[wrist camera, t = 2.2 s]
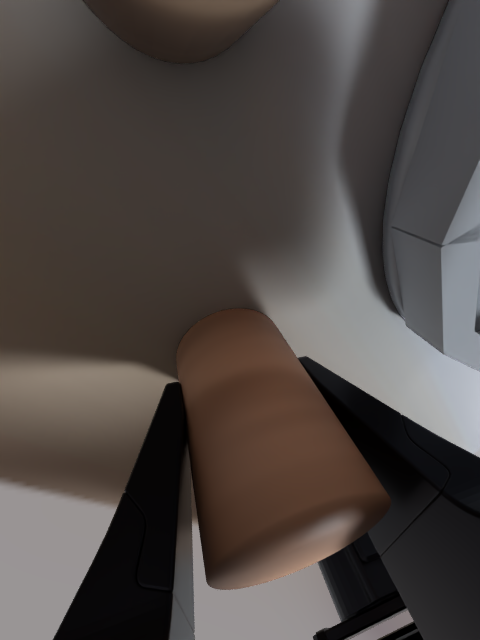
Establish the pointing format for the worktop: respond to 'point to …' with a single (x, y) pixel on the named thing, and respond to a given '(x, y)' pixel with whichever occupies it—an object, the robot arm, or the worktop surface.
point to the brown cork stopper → (266, 455)
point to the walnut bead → (180, 25)
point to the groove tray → (440, 194)
